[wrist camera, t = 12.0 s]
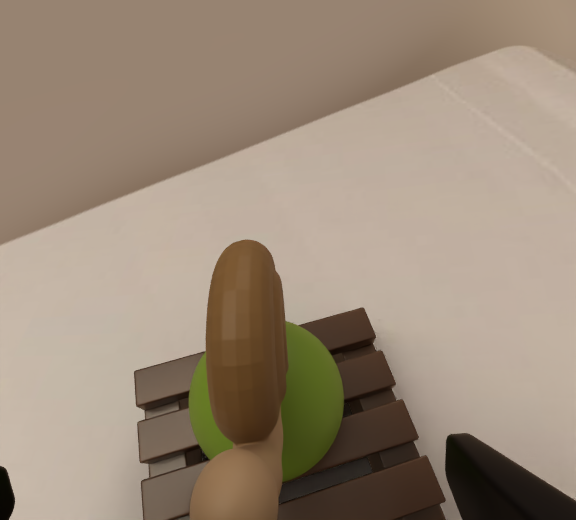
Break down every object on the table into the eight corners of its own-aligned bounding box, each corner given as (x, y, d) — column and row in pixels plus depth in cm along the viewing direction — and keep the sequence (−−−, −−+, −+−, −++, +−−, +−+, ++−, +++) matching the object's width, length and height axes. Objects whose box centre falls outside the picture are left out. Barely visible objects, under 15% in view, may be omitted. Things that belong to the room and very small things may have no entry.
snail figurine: (203, 522, 14) (-90, 626, 3) (210, 351, 17) (72, 145, 7) (350, 509, 14) (494, 577, 3) (328, 341, 17) (369, 124, 7)
